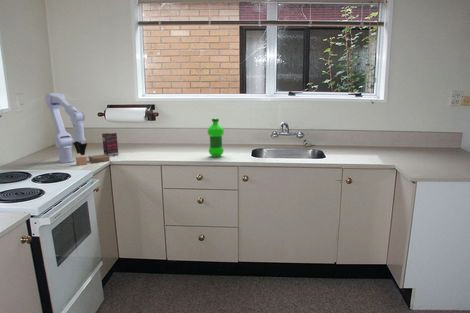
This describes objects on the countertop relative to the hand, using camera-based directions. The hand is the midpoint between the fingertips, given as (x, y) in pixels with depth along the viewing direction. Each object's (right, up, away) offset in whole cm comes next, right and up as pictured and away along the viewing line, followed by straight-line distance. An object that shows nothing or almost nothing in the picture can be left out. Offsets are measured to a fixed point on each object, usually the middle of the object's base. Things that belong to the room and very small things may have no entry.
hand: (80, 154), depth 237 cm
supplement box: (+10, -1, +28) cm, 30 cm away
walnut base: (+7, -4, +12) cm, 14 cm away
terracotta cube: (0, -6, +1) cm, 7 cm away
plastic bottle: (+82, -2, +20) cm, 84 cm away
